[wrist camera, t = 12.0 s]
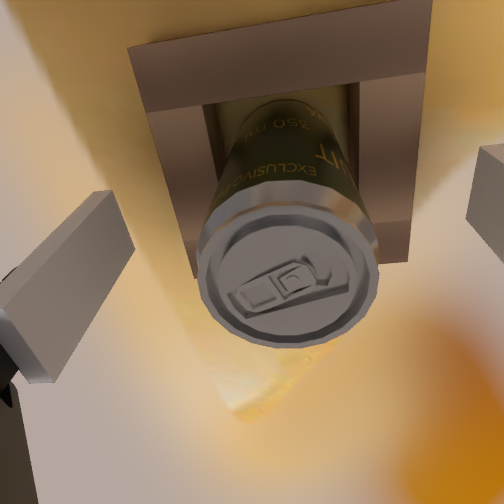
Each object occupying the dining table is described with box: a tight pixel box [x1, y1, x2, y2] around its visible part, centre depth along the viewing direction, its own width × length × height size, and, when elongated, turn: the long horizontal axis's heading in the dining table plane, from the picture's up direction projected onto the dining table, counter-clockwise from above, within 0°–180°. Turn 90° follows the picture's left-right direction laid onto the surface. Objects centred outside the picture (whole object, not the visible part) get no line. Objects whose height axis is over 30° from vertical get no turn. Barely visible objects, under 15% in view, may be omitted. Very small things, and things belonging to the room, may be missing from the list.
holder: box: [127, 0, 433, 279], centre depth 19 cm, size 12×12×3 cm
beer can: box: [196, 100, 380, 348], centre depth 15 cm, size 5×5×12 cm
